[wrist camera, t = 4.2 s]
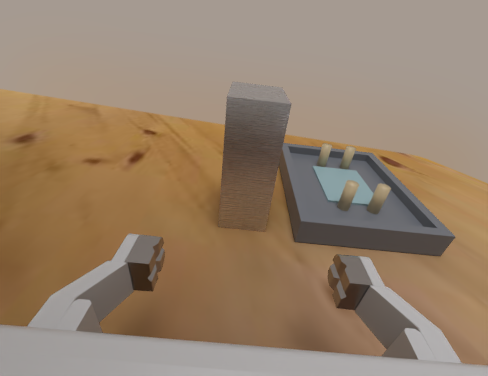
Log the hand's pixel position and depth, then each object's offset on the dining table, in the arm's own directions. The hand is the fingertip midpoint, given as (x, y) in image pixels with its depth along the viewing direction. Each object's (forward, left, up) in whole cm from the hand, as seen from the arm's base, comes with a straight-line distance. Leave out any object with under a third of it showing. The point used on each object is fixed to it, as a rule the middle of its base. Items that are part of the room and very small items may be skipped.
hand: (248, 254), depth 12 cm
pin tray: (+12, +18, -7) cm, 22 cm away
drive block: (0, +12, -7) cm, 14 cm away
